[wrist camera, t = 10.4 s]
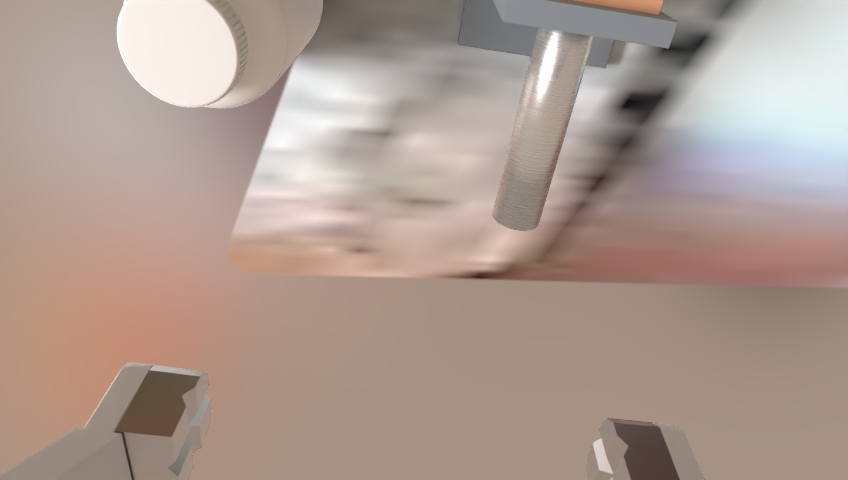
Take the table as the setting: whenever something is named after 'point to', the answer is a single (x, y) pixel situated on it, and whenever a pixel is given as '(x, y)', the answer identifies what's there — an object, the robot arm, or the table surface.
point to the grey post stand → (559, 25)
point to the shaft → (540, 126)
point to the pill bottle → (213, 46)
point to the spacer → (630, 4)
